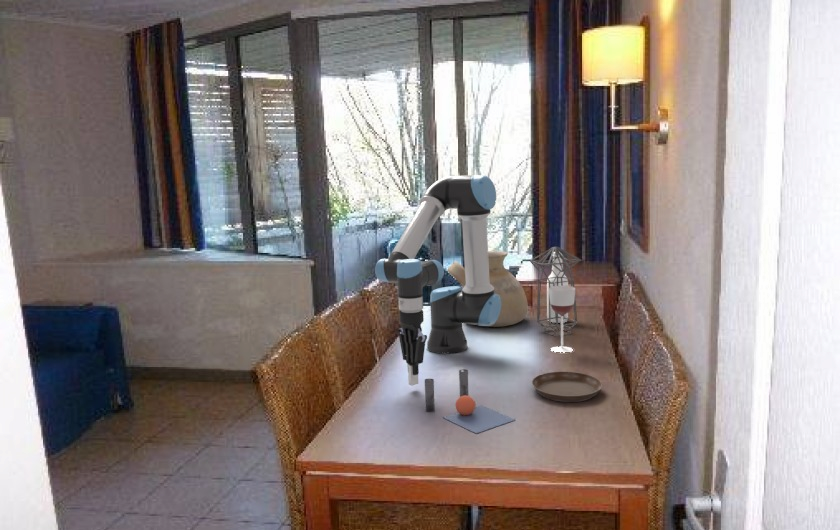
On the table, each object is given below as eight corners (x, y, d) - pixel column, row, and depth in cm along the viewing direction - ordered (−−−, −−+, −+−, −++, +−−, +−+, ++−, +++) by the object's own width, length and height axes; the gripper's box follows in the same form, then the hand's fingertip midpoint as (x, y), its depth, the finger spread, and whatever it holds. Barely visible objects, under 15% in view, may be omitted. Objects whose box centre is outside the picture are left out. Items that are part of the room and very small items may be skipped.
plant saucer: (598, 408, 189) (598, 397, 189) (525, 401, 197) (525, 390, 196) (604, 384, 208) (605, 374, 208) (538, 379, 216) (538, 369, 215)
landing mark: (443, 418, 185) (443, 417, 185) (481, 405, 193) (481, 405, 193) (476, 433, 174) (476, 433, 174) (515, 420, 182) (515, 419, 182)
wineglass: (576, 346, 249) (576, 285, 245) (573, 354, 240) (573, 291, 236) (551, 345, 252) (551, 285, 248) (547, 352, 243) (547, 290, 239)
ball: (466, 413, 182) (456, 419, 186) (481, 409, 185) (471, 416, 189) (459, 394, 184) (449, 401, 188) (474, 390, 187) (464, 397, 191)
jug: (532, 329, 276) (532, 257, 271) (450, 331, 276) (448, 259, 271) (523, 313, 304) (522, 247, 299) (448, 315, 305) (446, 250, 300)
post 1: (423, 410, 192) (422, 379, 190) (431, 407, 193) (430, 377, 192) (429, 412, 190) (428, 382, 188) (436, 410, 191) (435, 380, 190)
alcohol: (546, 318, 292) (546, 250, 287) (567, 318, 291) (567, 250, 286) (547, 323, 283) (547, 253, 279) (568, 323, 282) (568, 253, 277)
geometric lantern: (552, 340, 259) (549, 250, 254) (530, 332, 273) (527, 247, 268) (585, 334, 265) (584, 246, 260) (562, 326, 279) (560, 243, 274)
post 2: (458, 399, 199) (457, 370, 197) (464, 397, 200) (464, 368, 199) (463, 402, 197) (462, 372, 195) (470, 400, 198) (469, 370, 197)
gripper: (389, 308, 208) (392, 381, 211) (413, 315, 197) (415, 392, 201) (408, 304, 212) (411, 376, 216) (433, 311, 201) (435, 386, 205)
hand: (413, 383), depth 208 cm, fingers closed
